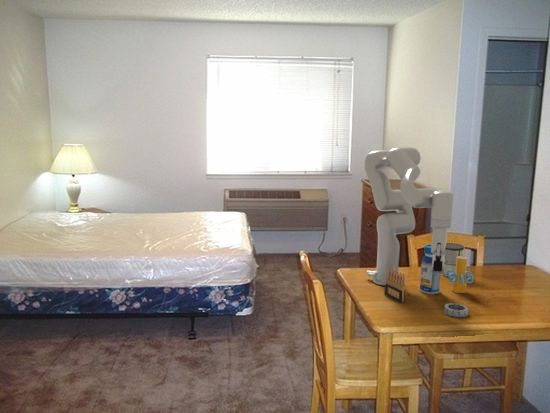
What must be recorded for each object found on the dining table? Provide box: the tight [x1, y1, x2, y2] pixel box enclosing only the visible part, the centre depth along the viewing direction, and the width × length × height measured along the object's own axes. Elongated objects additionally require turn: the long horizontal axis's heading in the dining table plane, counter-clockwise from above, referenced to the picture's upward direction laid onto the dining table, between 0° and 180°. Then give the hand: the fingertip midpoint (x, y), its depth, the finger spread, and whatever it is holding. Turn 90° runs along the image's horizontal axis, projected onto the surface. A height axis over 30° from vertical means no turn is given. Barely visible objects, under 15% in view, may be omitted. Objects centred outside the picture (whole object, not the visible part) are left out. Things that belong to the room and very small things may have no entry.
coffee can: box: [440, 242, 465, 278], centre depth 243 cm, size 10×10×14 cm
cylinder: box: [446, 256, 475, 294], centre depth 219 cm, size 12×10×15 cm
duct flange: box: [443, 302, 469, 319], centre depth 196 cm, size 9×9×2 cm
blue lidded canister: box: [419, 243, 441, 295], centre depth 218 cm, size 8×8×20 cm
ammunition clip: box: [384, 268, 406, 304], centre depth 209 cm, size 11×2×12 cm, turn 26°
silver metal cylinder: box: [432, 251, 445, 275], centre depth 199 cm, size 5×5×8 cm
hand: (437, 268), depth 199 cm, fingers closed on silver metal cylinder, 4 cm apart
